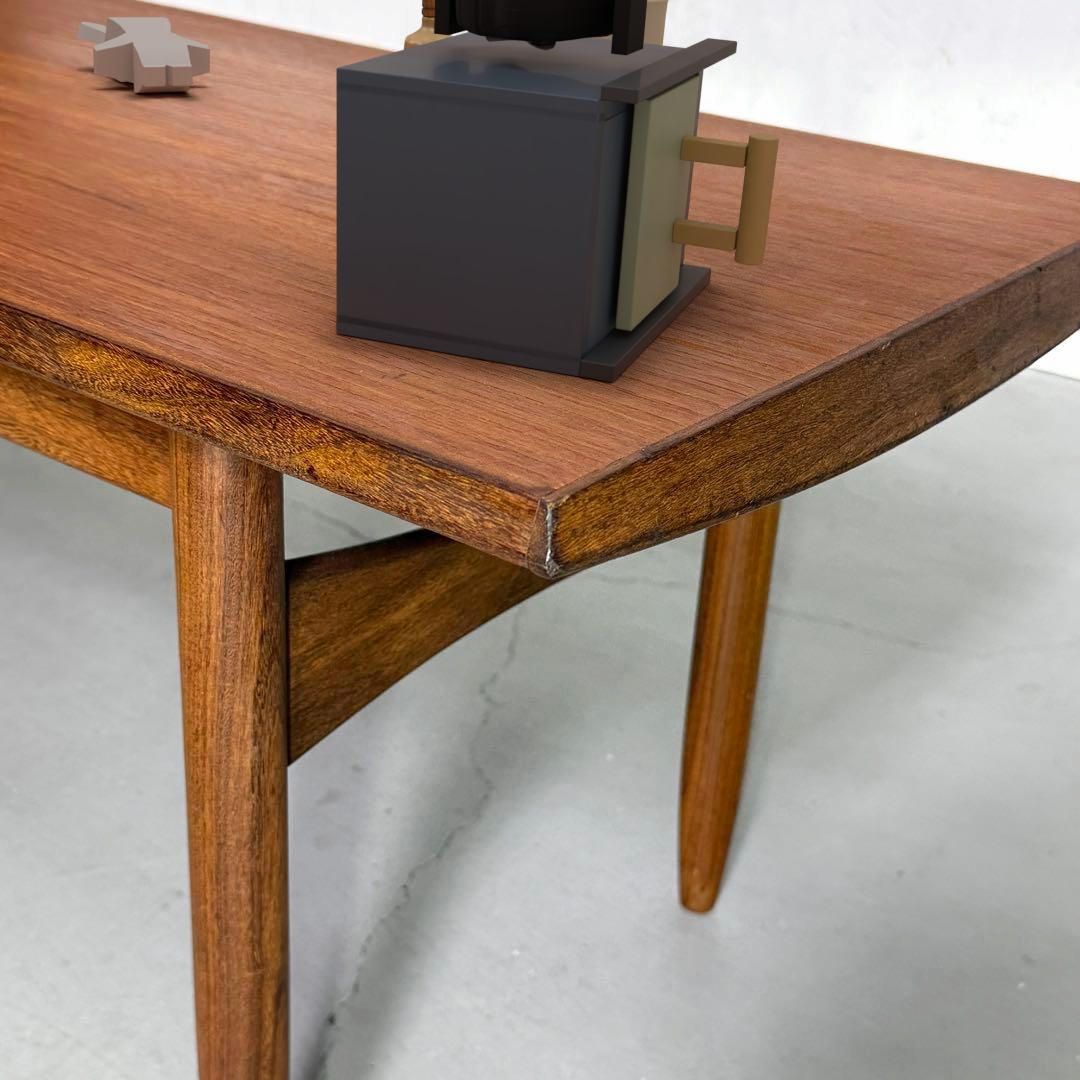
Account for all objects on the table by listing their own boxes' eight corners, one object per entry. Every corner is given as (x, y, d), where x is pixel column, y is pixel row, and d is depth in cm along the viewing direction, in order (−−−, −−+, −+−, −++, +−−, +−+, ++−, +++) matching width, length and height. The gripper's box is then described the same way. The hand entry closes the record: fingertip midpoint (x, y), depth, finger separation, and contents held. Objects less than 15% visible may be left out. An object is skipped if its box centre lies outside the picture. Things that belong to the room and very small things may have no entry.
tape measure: (518, 60, 66) (523, -30, 64) (424, 37, 70) (426, -48, 69) (628, 52, 70) (635, -32, 68) (533, 31, 75) (537, -49, 73)
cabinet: (710, 282, 81) (737, 41, 75) (613, 383, 66) (638, 89, 60) (479, 246, 85) (488, 14, 79) (335, 333, 69) (335, 53, 64)
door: (765, 300, 74) (792, 86, 70) (726, 347, 67) (754, 112, 63) (663, 283, 76) (683, 73, 71) (614, 329, 69) (634, 98, 64)
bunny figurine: (108, 47, 115) (62, -2, 126) (110, 112, 118) (65, 59, 129) (226, 45, 120) (172, -2, 130) (226, 108, 122) (173, 57, 133)
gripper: (844, -529, 60) (772, 55, 70) (376, -528, 66) (371, 11, 76) (811, -574, 54) (737, 76, 64) (295, -569, 60) (301, 26, 70)
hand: (538, 40), depth 70 cm, fingers closed on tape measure, 8 cm apart
